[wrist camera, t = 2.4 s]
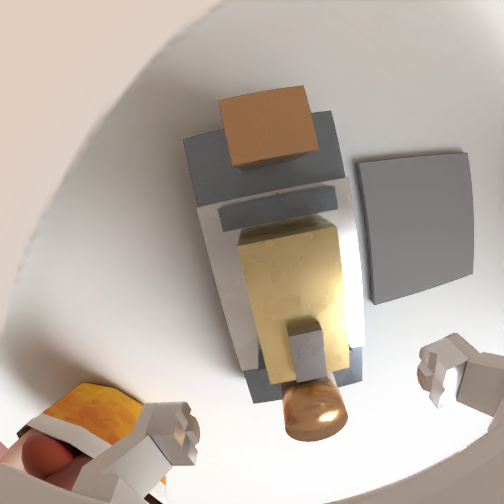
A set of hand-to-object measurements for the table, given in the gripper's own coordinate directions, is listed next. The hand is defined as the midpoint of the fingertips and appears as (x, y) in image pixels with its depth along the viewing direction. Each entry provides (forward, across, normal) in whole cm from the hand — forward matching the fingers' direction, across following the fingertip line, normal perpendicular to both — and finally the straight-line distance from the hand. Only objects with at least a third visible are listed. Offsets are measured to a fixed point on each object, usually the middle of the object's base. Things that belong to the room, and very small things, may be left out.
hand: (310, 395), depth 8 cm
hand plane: (+13, -1, 0) cm, 13 cm away
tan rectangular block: (+9, -1, 0) cm, 9 cm away
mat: (+13, -13, -1) cm, 18 cm away
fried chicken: (+14, +20, +14) cm, 28 cm away
